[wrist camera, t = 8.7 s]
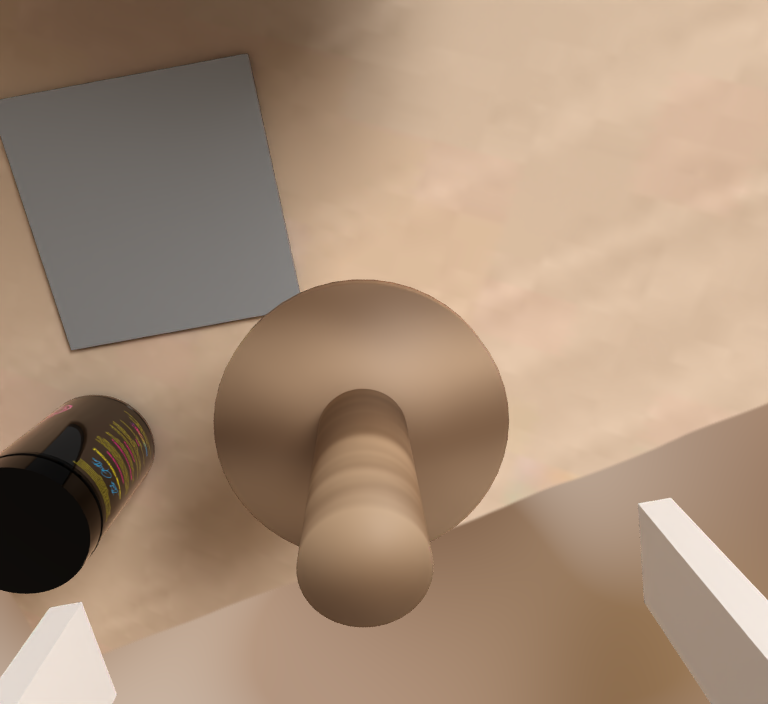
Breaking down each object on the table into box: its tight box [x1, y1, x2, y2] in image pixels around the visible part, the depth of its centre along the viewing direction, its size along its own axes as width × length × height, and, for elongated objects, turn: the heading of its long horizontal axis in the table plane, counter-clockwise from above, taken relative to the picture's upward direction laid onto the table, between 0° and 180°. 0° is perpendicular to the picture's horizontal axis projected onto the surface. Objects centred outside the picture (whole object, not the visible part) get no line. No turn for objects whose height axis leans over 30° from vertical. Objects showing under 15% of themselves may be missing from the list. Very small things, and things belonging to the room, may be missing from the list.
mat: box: [0, 54, 300, 350], centre depth 35 cm, size 14×14×1 cm
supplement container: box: [0, 395, 155, 594], centre depth 34 cm, size 7×7×10 cm
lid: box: [214, 280, 509, 627], centre depth 21 cm, size 12×12×10 cm
